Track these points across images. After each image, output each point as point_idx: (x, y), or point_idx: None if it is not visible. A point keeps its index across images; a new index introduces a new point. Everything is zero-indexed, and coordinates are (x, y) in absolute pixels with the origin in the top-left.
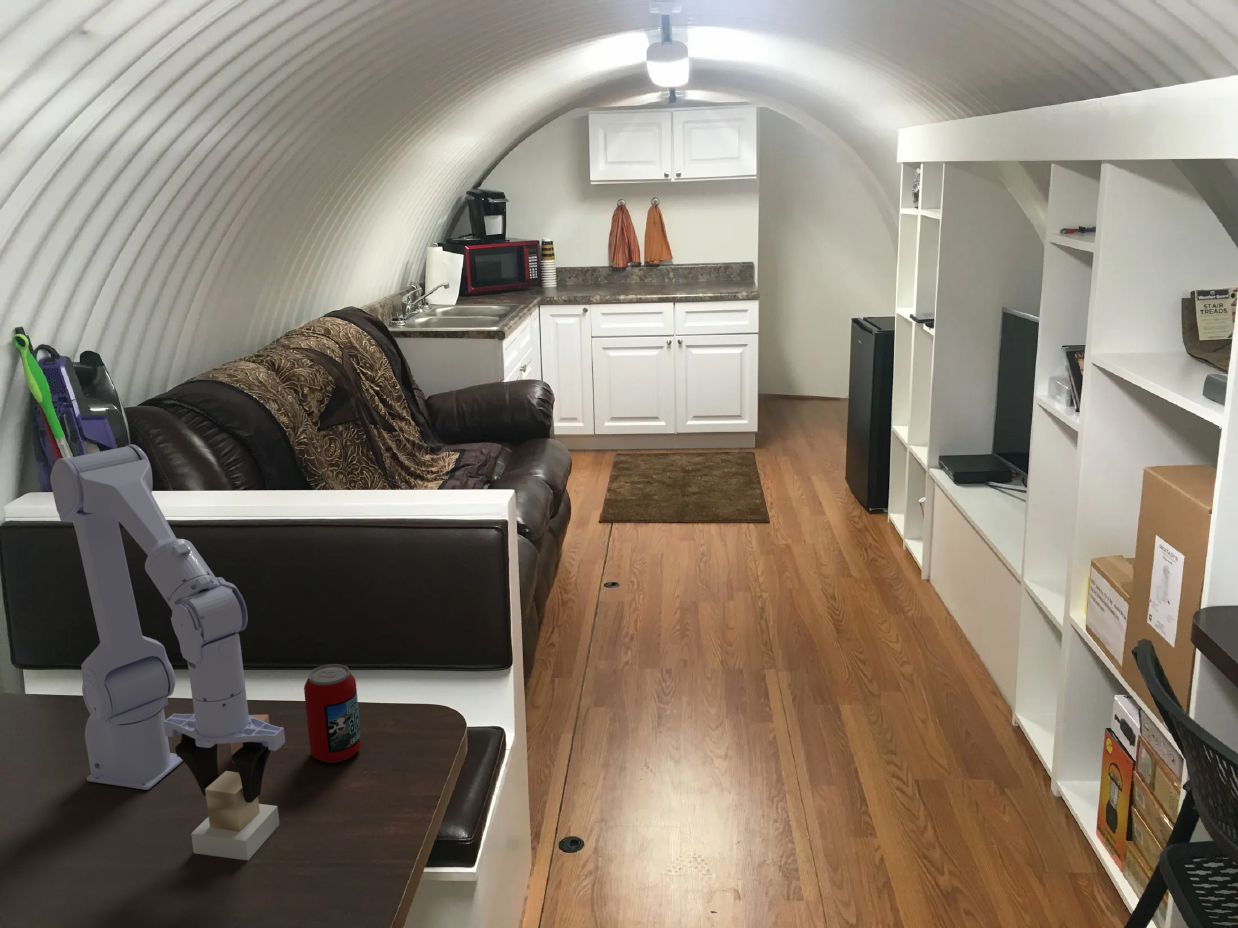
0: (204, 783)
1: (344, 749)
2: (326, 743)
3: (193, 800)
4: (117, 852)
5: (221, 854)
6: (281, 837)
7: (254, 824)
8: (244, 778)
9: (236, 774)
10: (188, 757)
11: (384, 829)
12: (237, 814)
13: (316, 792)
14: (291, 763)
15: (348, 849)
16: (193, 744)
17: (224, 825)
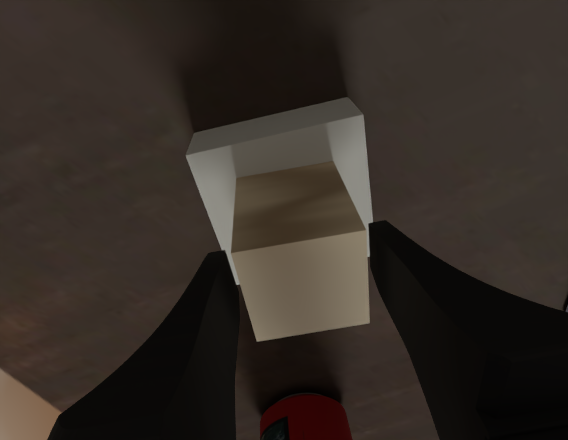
0: (387, 249)
1: (265, 429)
2: (291, 435)
3: (474, 237)
4: (558, 6)
5: (266, 117)
6: (194, 224)
7: (226, 215)
8: (180, 320)
9: (320, 322)
10: (495, 323)
11: (28, 319)
12: (234, 206)
13: (249, 340)
14: (356, 371)
15: (24, 252)
16: (519, 409)
17: (285, 175)
